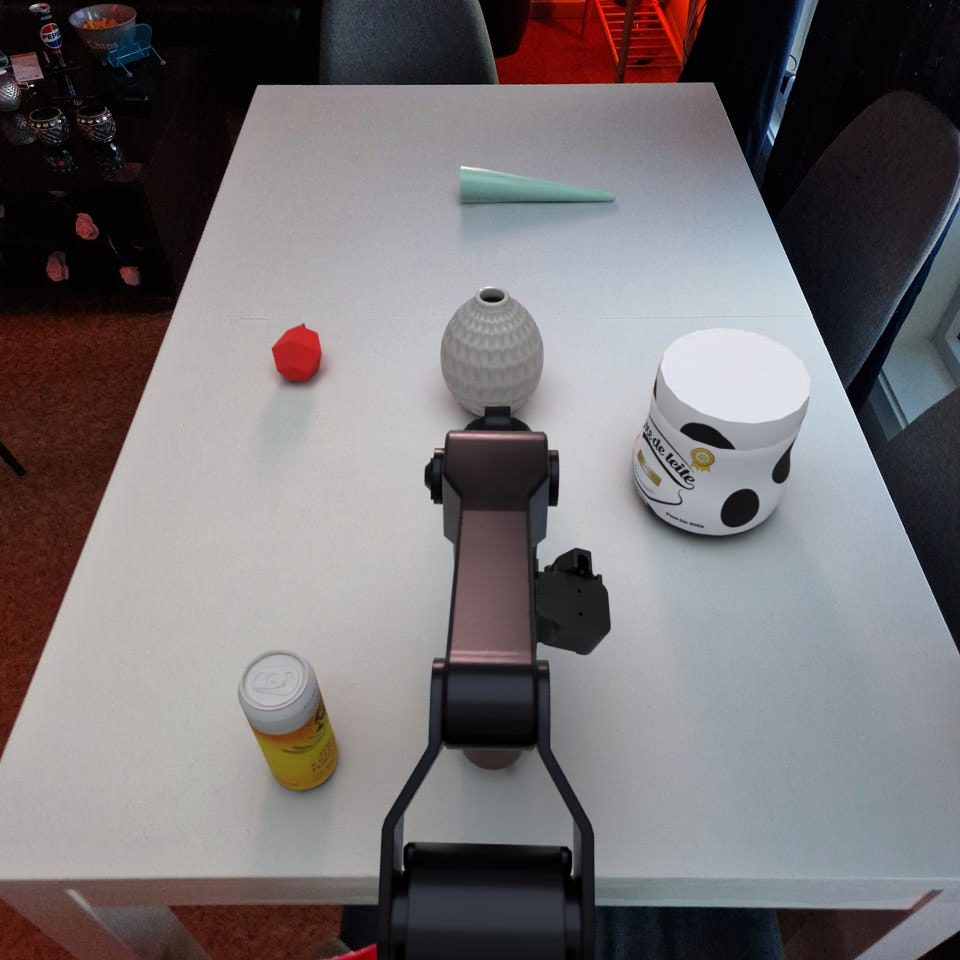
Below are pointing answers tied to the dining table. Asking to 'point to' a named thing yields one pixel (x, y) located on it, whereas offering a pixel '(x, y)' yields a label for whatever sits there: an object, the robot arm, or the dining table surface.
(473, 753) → the bottle
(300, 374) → the apple
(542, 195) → the long green cone
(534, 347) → the vase
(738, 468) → the milk container
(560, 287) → the dining table surface
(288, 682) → the beer can
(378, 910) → the robot arm
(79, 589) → the dining table surface
